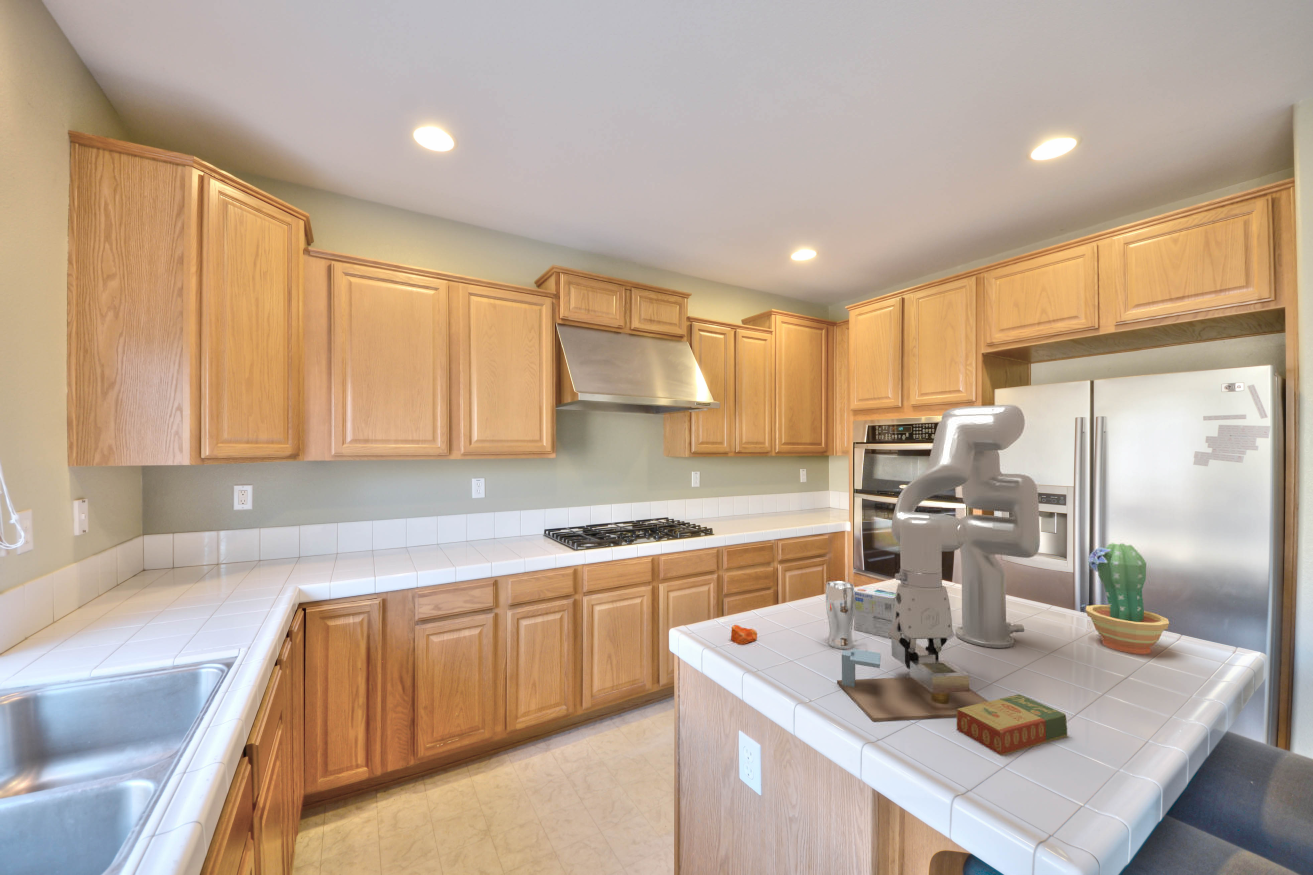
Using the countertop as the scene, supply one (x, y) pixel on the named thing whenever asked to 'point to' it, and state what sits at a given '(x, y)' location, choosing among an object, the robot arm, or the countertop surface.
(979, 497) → the robot arm
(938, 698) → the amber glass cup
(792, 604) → the countertop surface
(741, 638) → the rock
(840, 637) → the beer glass
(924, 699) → the board
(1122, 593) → the potted cactus
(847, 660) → the bracket
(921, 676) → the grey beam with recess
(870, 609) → the light bulb box
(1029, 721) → the carton
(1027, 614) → the countertop surface
